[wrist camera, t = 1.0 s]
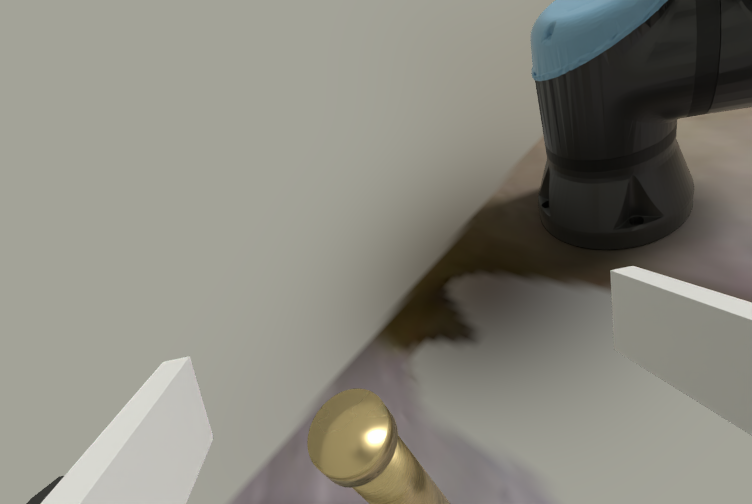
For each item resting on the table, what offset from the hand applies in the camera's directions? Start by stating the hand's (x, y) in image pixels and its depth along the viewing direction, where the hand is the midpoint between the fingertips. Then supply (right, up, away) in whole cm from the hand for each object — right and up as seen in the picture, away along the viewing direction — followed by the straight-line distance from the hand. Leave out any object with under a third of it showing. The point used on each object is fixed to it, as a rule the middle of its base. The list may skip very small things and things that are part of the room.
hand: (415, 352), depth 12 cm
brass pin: (+3, -17, +17) cm, 25 cm away
